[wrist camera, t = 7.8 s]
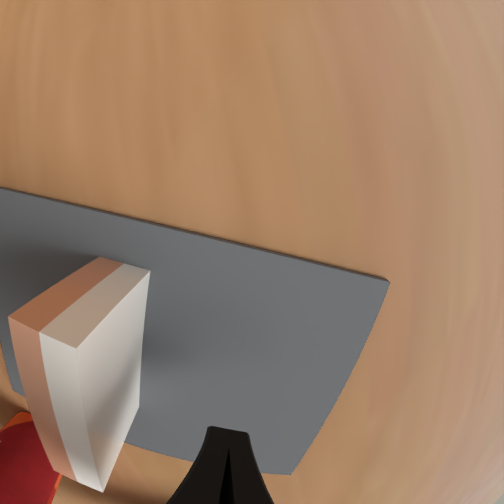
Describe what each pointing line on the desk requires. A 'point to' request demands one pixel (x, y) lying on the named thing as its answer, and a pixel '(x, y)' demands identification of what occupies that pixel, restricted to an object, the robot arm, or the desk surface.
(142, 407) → the mat
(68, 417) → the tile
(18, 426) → the paper cup
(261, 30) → the desk surface
